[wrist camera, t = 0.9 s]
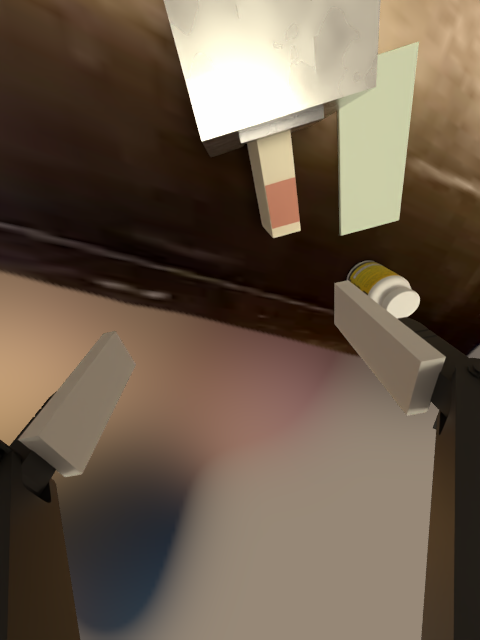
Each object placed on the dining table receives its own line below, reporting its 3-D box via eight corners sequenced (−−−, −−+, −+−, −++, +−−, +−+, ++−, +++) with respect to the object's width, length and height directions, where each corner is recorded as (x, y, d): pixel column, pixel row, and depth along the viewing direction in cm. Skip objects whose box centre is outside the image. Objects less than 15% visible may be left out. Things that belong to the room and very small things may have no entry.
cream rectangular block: (238, 101, 25) (245, 70, 18) (266, 92, 24) (283, 57, 17) (262, 225, 31) (273, 238, 24) (283, 219, 31) (301, 230, 24)
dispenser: (173, 16, 21) (120, -161, 10) (301, -29, 20) (393, -278, 9) (212, 163, 27) (204, 151, 16) (311, 132, 26) (375, 98, 15)
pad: (336, 69, 24) (338, 67, 23) (415, 44, 23) (419, 41, 23) (339, 234, 33) (341, 235, 32) (396, 219, 32) (398, 220, 32)
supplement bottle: (338, 277, 36) (373, 306, 28) (369, 252, 34) (416, 275, 26) (355, 298, 38) (392, 331, 30) (385, 276, 36) (433, 304, 28)
